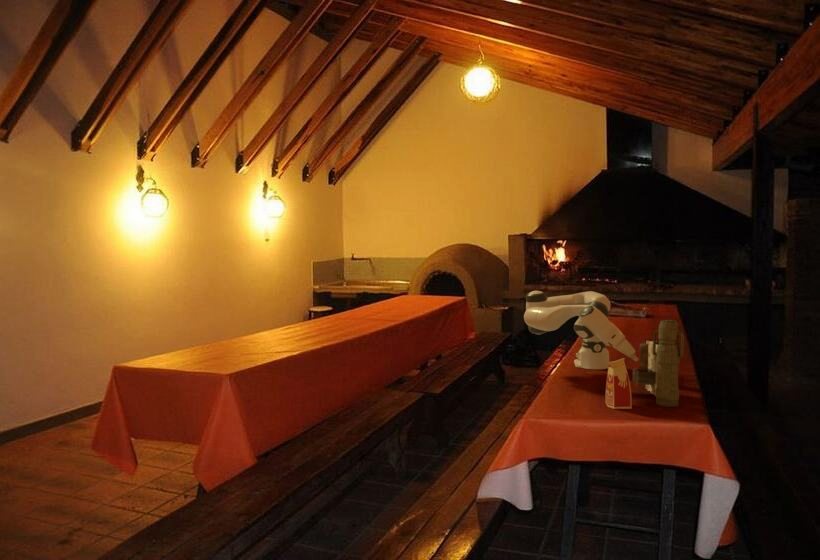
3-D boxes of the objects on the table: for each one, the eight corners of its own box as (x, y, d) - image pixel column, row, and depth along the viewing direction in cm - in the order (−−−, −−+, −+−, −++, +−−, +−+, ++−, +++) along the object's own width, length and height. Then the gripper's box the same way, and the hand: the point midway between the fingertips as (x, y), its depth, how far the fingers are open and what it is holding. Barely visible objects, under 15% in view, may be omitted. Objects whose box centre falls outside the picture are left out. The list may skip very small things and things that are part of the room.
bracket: (628, 389, 289) (629, 341, 287) (648, 388, 289) (648, 340, 287) (642, 399, 273) (642, 348, 271) (662, 398, 273) (663, 347, 271)
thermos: (681, 408, 258) (683, 322, 255) (650, 404, 264) (651, 320, 261) (684, 403, 266) (685, 319, 263) (654, 399, 272) (655, 317, 269)
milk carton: (624, 402, 269) (624, 355, 267) (632, 408, 259) (633, 360, 258) (602, 403, 268) (603, 355, 267) (610, 409, 259) (610, 360, 257)
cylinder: (637, 379, 282) (638, 343, 281) (645, 379, 282) (646, 343, 281) (640, 381, 279) (641, 345, 277) (648, 381, 279) (649, 345, 277)
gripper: (598, 336, 288) (619, 358, 289) (613, 345, 268) (636, 368, 269) (608, 326, 288) (629, 348, 289) (624, 334, 268) (647, 357, 269)
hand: (632, 357), depth 279 cm, fingers open, 8 cm apart
